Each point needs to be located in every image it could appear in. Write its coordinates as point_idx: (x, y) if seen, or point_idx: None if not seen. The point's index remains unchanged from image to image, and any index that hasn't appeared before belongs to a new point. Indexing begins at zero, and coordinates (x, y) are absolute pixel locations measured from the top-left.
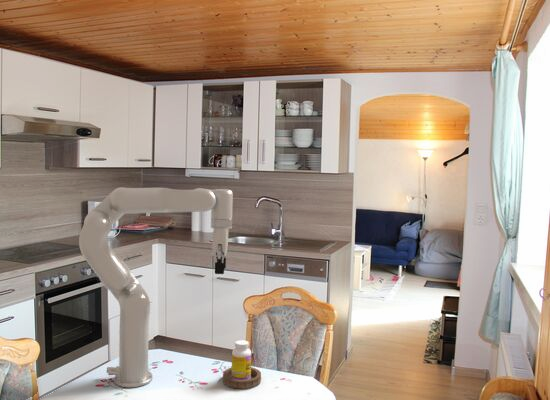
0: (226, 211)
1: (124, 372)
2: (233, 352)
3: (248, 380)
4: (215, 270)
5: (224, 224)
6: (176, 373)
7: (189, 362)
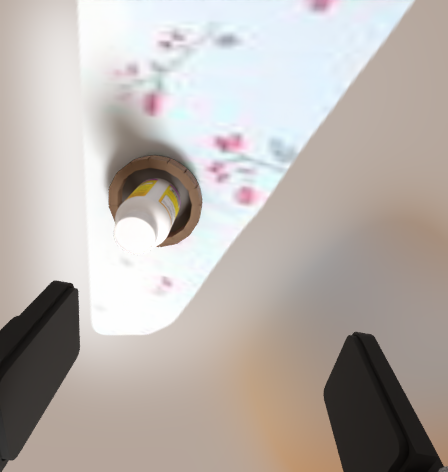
0: None
1: None
2: (130, 201)
3: (115, 213)
4: (34, 305)
5: None
6: (222, 22)
7: (299, 69)
